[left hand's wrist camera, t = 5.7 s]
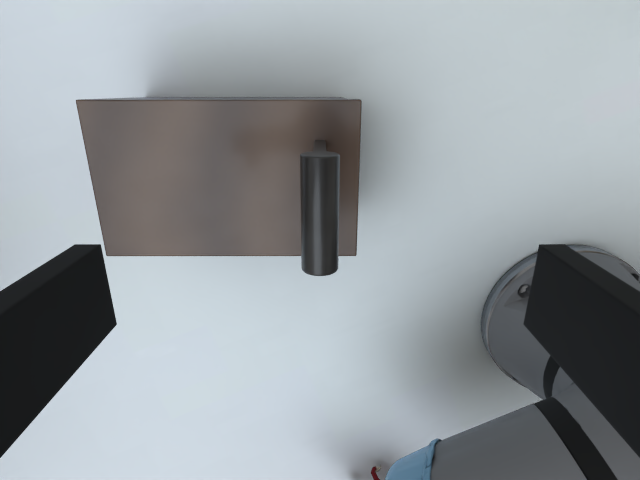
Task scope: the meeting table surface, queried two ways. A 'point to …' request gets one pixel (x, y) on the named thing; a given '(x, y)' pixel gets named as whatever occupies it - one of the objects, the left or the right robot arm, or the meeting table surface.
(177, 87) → the meeting table surface
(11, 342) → the left robot arm
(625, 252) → the meeting table surface
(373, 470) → the toy
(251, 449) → the meeting table surface
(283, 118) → the lid
